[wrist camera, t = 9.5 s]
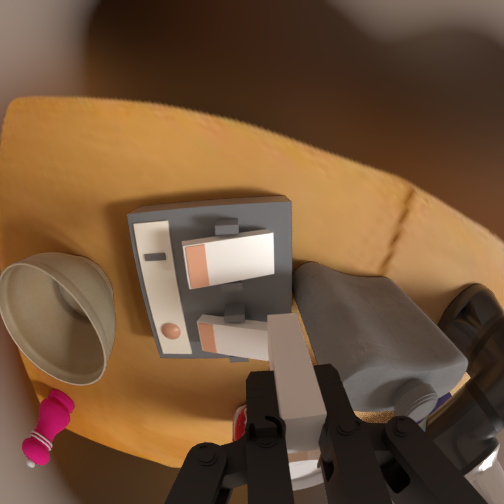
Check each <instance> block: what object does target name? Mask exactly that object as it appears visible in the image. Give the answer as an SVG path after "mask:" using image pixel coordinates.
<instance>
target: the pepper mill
mask: <svg viewBox="0 0 504 504" xmlns="http://www.w3.org/2000/svg"><path fill="white" fill-rule="evenodd" d="M73 409H74V403H73V401H72V400H71V399H70V398H69V397H68V396H67V395H66V394H64V393H63V392H61V391H59V390H56V389H53V390H51V392H50V393H49V395H48V398H46V399H44V400H43V401H42V402H41V405H40V409H39V421H38V424H37V427H36V429H35V430H34V431H31V434H30V438H27V439H25V440H24V441H23V443H22V450H23V452H24V454H25V455H26V457H27V458H28V459H27V461H26V463H27V465H28V466H29V467H34V465H35V464H34V463H36V464H38V465H45V464H46V463H48V461H49V459H50V455H49V452H48V450H51V447H52V444H51V443H52V440H53V438H54V436H55V435H56V434H57V433H58V432H60V431H61V430H63V429H64V428H65V427H66V426H67V425H68V424H69V422H70V415H69V413H72V411H73Z"/></svg>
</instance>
